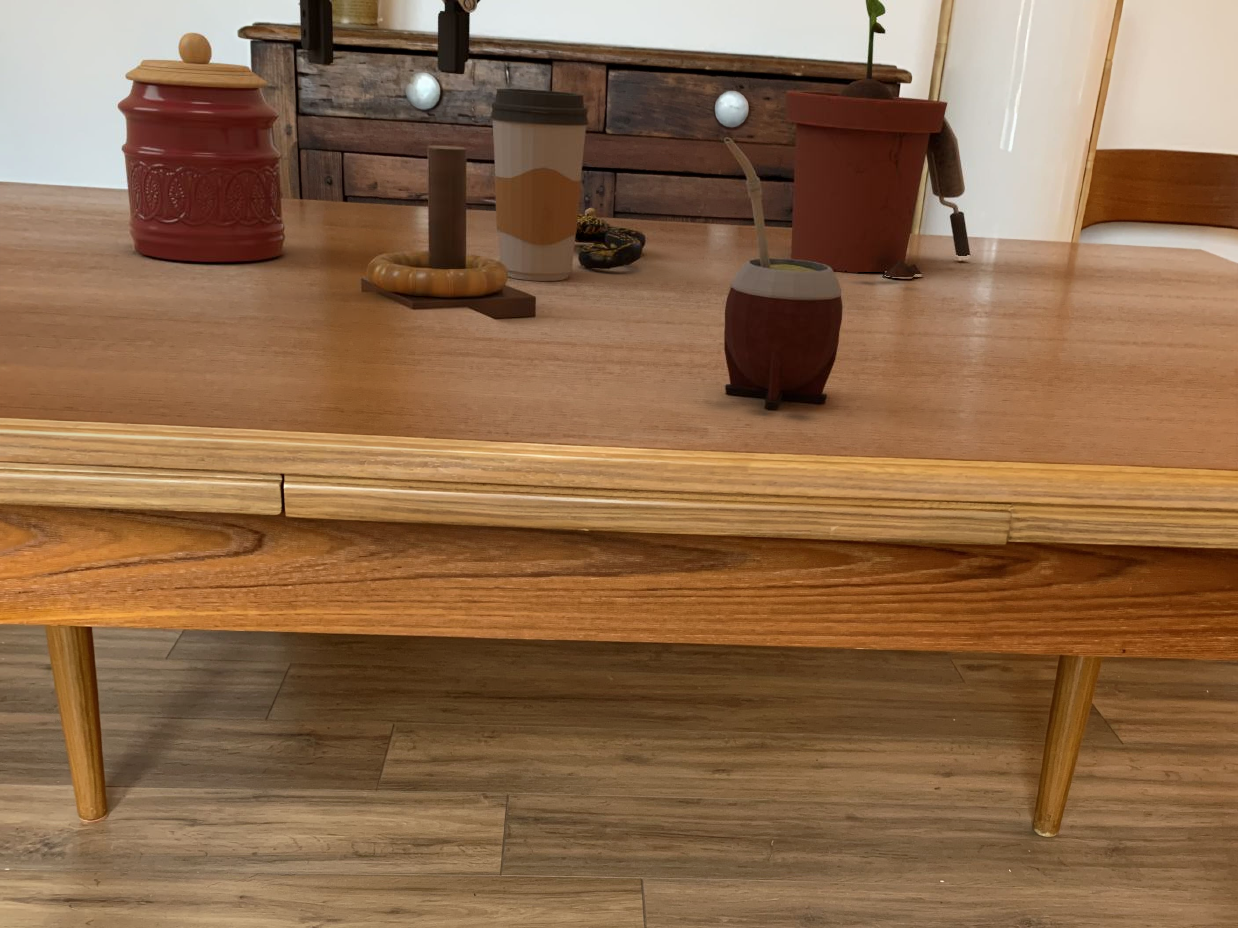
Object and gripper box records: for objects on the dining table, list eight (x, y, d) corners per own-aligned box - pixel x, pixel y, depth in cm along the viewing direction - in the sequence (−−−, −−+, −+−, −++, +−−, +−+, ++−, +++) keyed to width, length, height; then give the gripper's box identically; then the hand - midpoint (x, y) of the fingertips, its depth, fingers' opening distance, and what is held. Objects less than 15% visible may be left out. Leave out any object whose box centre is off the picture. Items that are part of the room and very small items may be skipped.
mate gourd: (834, 390, 86) (864, 140, 80) (828, 420, 79) (860, 148, 73) (719, 379, 87) (739, 130, 81) (702, 407, 80) (723, 137, 73)
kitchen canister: (184, 269, 111) (164, 32, 103) (102, 246, 118) (79, 24, 111) (315, 258, 120) (306, 40, 112) (232, 238, 127) (218, 32, 120)
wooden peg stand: (412, 322, 97) (410, 153, 92) (361, 297, 104) (356, 139, 99) (536, 316, 102) (539, 155, 97) (478, 293, 109) (479, 142, 105)
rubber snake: (636, 216, 120) (526, 217, 122) (637, 270, 122) (529, 270, 123) (660, 204, 137) (564, 204, 138) (661, 251, 139) (566, 251, 140)
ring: (401, 302, 96) (400, 273, 95) (347, 277, 103) (346, 250, 103) (531, 296, 101) (531, 269, 100) (470, 273, 109) (470, 248, 108)
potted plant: (770, 246, 147) (793, -9, 137) (968, 260, 146) (1007, 6, 136) (770, 270, 131) (797, -17, 120) (993, 287, 130) (1040, 0, 120)
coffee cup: (574, 268, 124) (581, 92, 118) (589, 284, 117) (597, 97, 110) (484, 265, 122) (485, 86, 116) (493, 281, 115) (495, 91, 108)
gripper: (271, -254, 79) (283, 62, 86) (531, -204, 88) (522, 79, 95) (233, -238, 85) (247, 57, 92) (481, -193, 94) (476, 74, 101)
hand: (387, 68), depth 94 cm, fingers open, 9 cm apart
